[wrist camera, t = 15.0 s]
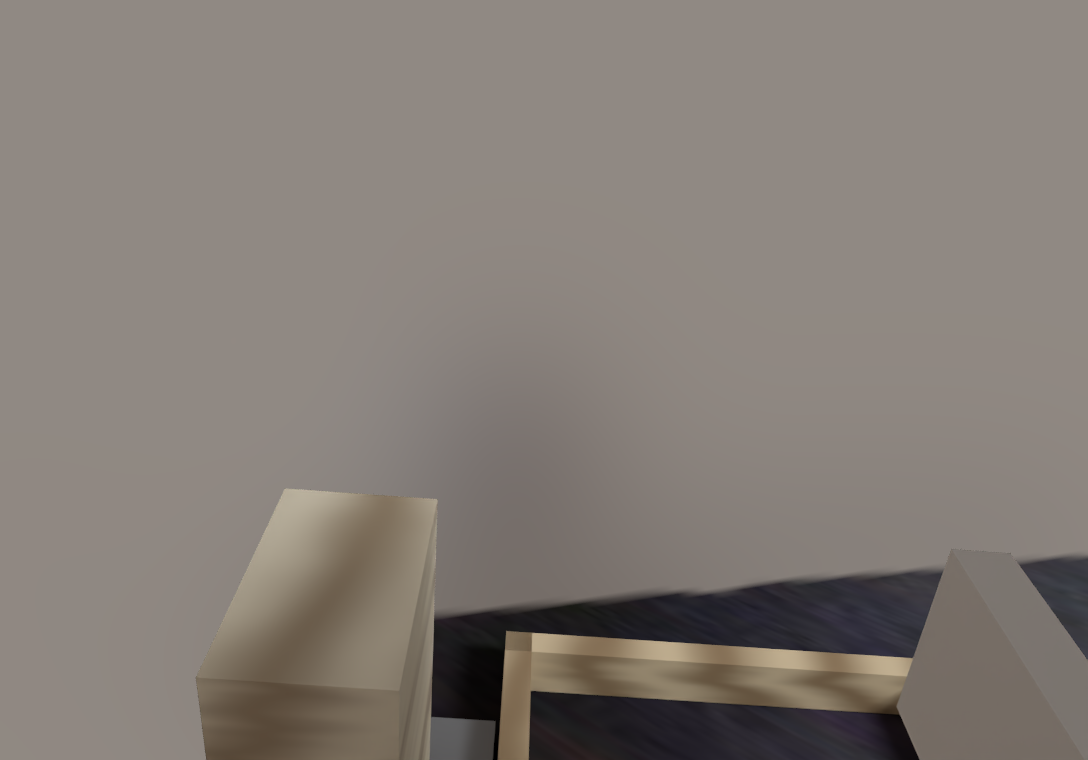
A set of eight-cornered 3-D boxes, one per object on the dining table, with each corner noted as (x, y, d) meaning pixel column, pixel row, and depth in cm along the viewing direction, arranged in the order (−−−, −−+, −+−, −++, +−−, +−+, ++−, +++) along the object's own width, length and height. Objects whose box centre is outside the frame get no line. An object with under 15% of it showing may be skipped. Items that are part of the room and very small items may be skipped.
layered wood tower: (428, 807, 44) (437, 499, 36) (396, 1032, 35) (399, 690, 27) (303, 799, 44) (285, 488, 36) (239, 1024, 35) (195, 677, 27)
